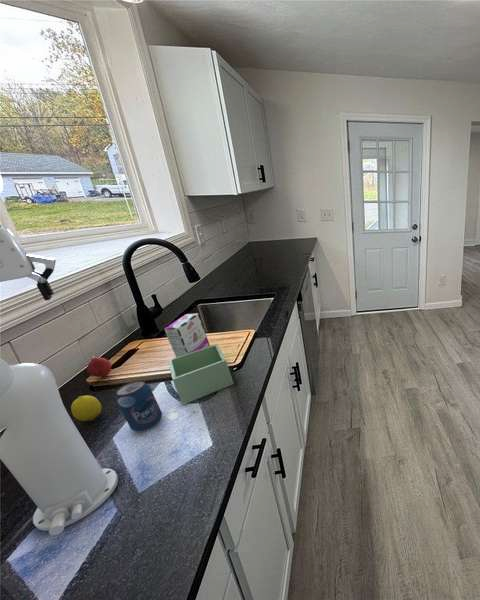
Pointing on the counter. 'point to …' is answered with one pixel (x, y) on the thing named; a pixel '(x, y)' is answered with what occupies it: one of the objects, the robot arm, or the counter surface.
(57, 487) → the robot arm
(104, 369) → the onion
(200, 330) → the candy bar box
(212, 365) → the bin
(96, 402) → the lemon
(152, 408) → the soda can
